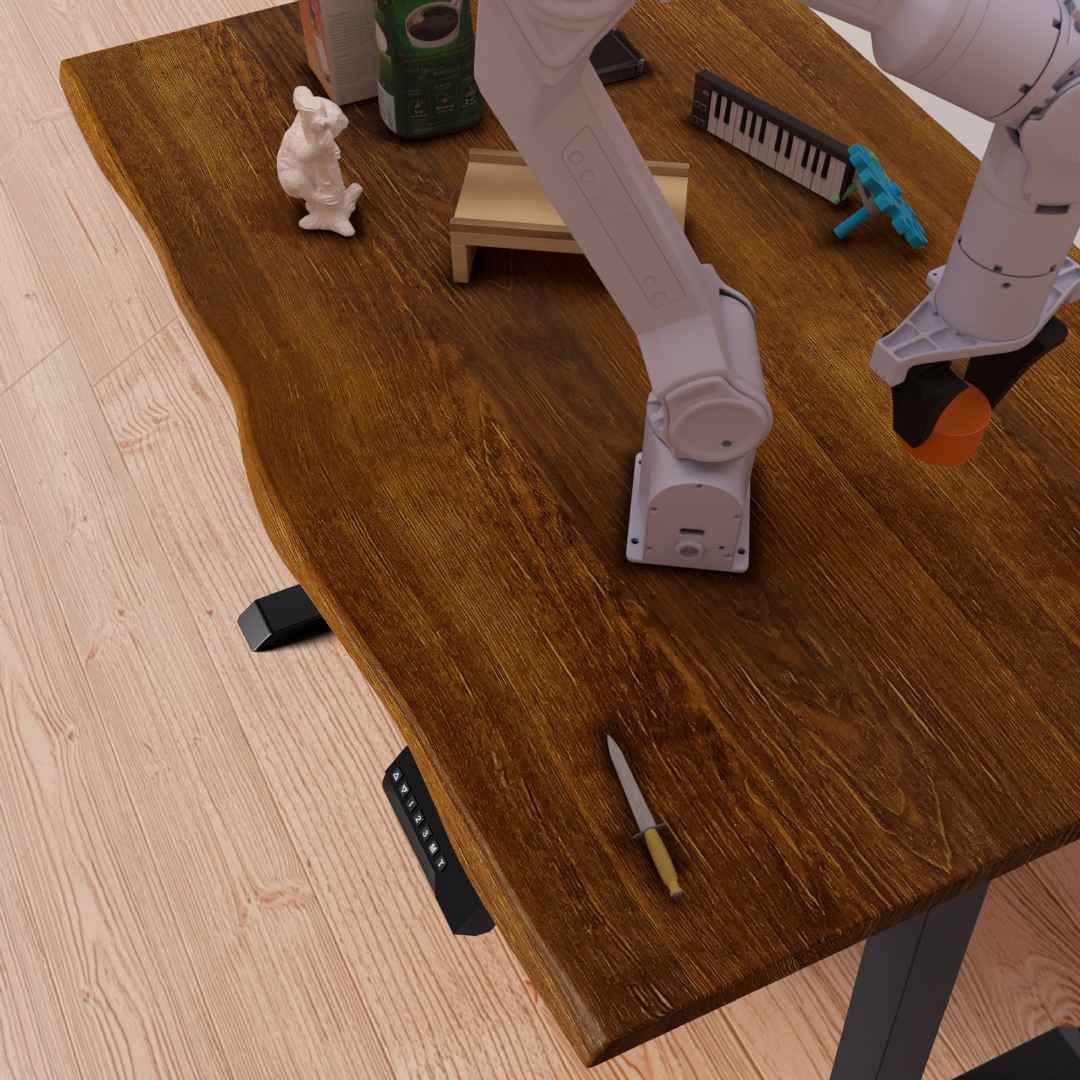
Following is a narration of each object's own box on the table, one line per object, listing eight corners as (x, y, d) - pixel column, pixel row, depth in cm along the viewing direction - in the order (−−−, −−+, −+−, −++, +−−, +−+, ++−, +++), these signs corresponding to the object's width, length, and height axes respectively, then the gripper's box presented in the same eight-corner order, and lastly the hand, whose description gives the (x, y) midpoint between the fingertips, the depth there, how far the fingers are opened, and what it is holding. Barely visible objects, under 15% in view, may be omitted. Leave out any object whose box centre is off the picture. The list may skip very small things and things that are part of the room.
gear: (946, 260, 93) (878, 176, 88) (882, 304, 96) (812, 226, 91) (914, 191, 101) (850, 111, 96) (856, 234, 104) (790, 158, 98)
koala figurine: (378, 239, 97) (360, 109, 88) (299, 255, 96) (272, 126, 86) (356, 181, 102) (337, 53, 93) (280, 196, 101) (253, 67, 91)
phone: (648, 63, 111) (503, 97, 108) (647, 74, 112) (503, 108, 109) (613, 24, 116) (472, 55, 112) (612, 34, 117) (473, 66, 113)
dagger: (590, 737, 68) (621, 723, 68) (593, 743, 69) (624, 730, 69) (659, 901, 62) (694, 886, 62) (662, 907, 62) (696, 892, 63)
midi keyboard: (689, 123, 108) (694, 73, 104) (698, 117, 108) (704, 67, 104) (838, 209, 100) (850, 158, 96) (847, 202, 100) (860, 152, 96)
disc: (995, 445, 74) (1009, 414, 71) (934, 478, 72) (947, 447, 70) (937, 395, 76) (949, 364, 74) (877, 425, 75) (888, 395, 72)
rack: (676, 300, 92) (683, 241, 88) (453, 282, 94) (449, 223, 89) (682, 222, 99) (689, 163, 94) (473, 206, 100) (469, 147, 95)
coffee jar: (468, 84, 112) (456, -121, 97) (494, 129, 107) (486, -80, 92) (370, 103, 110) (343, -103, 95) (392, 150, 105) (367, -60, 90)
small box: (308, 66, 114) (289, -42, 105) (362, 53, 115) (348, -55, 107) (334, 108, 109) (317, -1, 101) (390, 94, 110) (378, -15, 102)
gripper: (1055, 164, 67) (984, 341, 77) (857, 246, 62) (811, 421, 73) (1151, 230, 63) (1062, 407, 74) (948, 323, 58) (885, 496, 69)
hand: (942, 419), depth 73 cm, fingers closed on disc, 5 cm apart
